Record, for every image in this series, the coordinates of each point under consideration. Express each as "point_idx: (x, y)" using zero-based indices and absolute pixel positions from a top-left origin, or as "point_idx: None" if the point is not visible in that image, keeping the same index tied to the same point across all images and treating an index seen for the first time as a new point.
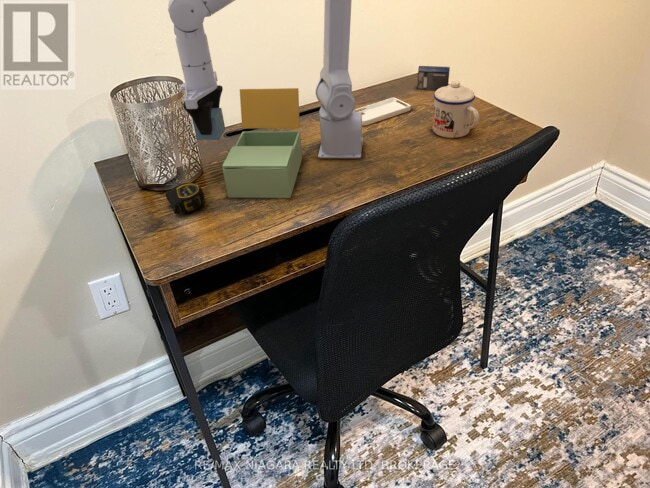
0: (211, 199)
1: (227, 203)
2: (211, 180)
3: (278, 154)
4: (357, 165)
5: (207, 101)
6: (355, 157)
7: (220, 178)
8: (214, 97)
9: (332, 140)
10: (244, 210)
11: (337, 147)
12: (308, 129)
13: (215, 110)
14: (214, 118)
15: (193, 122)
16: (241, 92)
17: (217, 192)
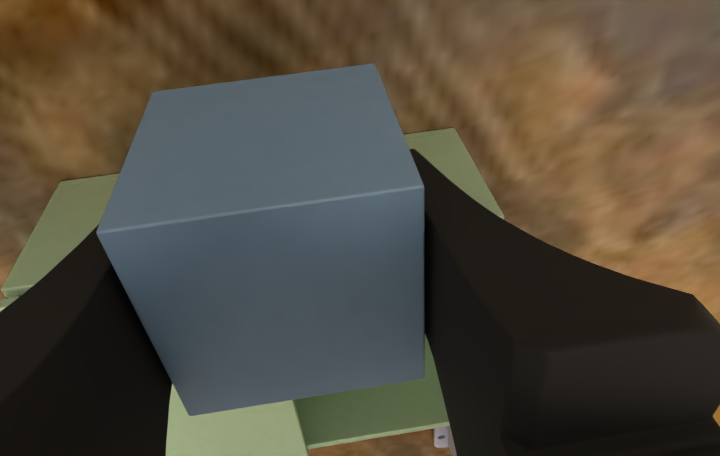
0: (3, 111)
1: (13, 195)
2: (183, 30)
3: (220, 451)
4: (395, 443)
5: (453, 345)
6: (434, 438)
7: (218, 73)
8: (464, 450)
9: (456, 454)
10: (3, 272)
11: (449, 437)
12: (684, 278)
13: (360, 361)
14: (185, 408)
15: (114, 201)
16: (716, 418)
17: (79, 114)
